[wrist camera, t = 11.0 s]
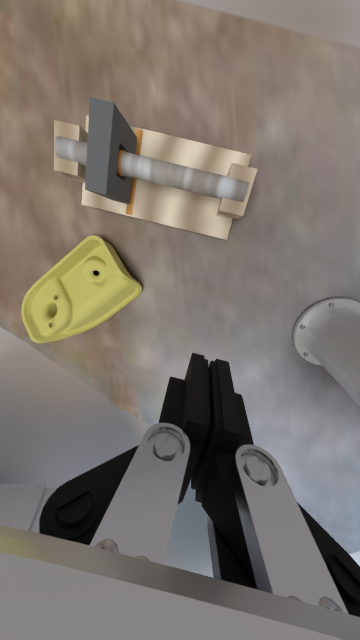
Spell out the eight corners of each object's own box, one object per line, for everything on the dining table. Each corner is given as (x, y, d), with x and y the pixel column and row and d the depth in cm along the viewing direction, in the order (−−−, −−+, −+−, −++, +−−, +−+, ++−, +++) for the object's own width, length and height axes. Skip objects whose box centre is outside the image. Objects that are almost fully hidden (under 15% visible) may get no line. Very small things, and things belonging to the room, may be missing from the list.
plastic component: (96, 229, 34) (125, 280, 32) (121, 246, 41) (147, 289, 39) (14, 301, 38) (35, 350, 36) (50, 305, 45) (70, 347, 43)
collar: (137, 137, 29) (113, 102, 21) (128, 204, 32) (105, 194, 24) (119, 133, 29) (90, 97, 21) (112, 200, 32) (84, 189, 24)
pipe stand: (252, 159, 31) (269, 133, 23) (229, 240, 35) (236, 241, 27) (88, 120, 31) (50, 81, 23) (83, 204, 35) (49, 196, 27)
